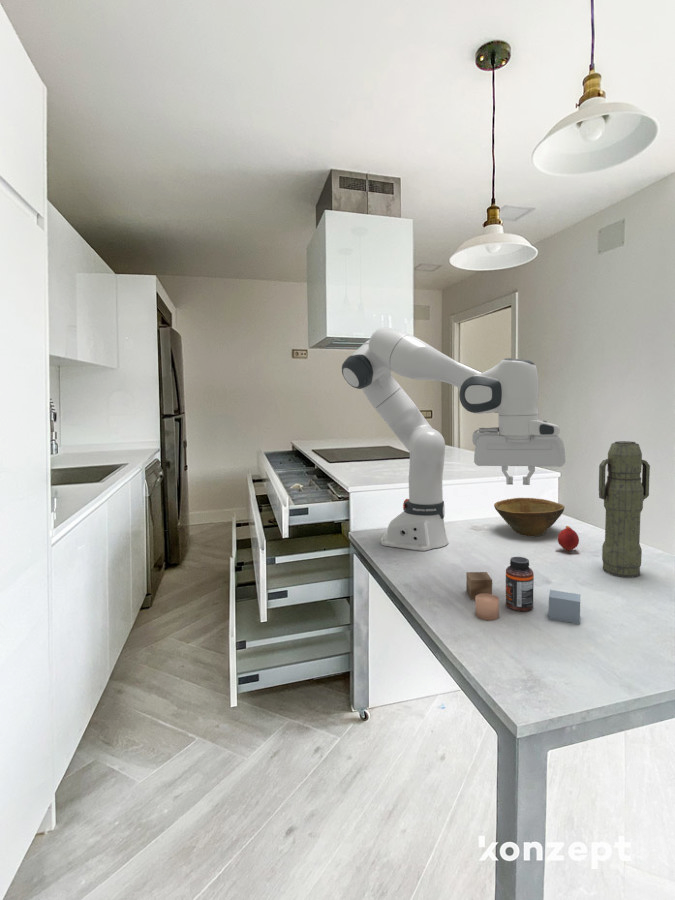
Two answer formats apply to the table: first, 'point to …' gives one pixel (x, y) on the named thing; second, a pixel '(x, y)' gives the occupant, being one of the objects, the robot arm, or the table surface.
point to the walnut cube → (478, 583)
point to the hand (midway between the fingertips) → (517, 484)
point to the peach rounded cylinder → (487, 606)
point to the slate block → (564, 606)
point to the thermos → (623, 507)
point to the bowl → (529, 514)
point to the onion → (568, 539)
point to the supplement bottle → (519, 584)
